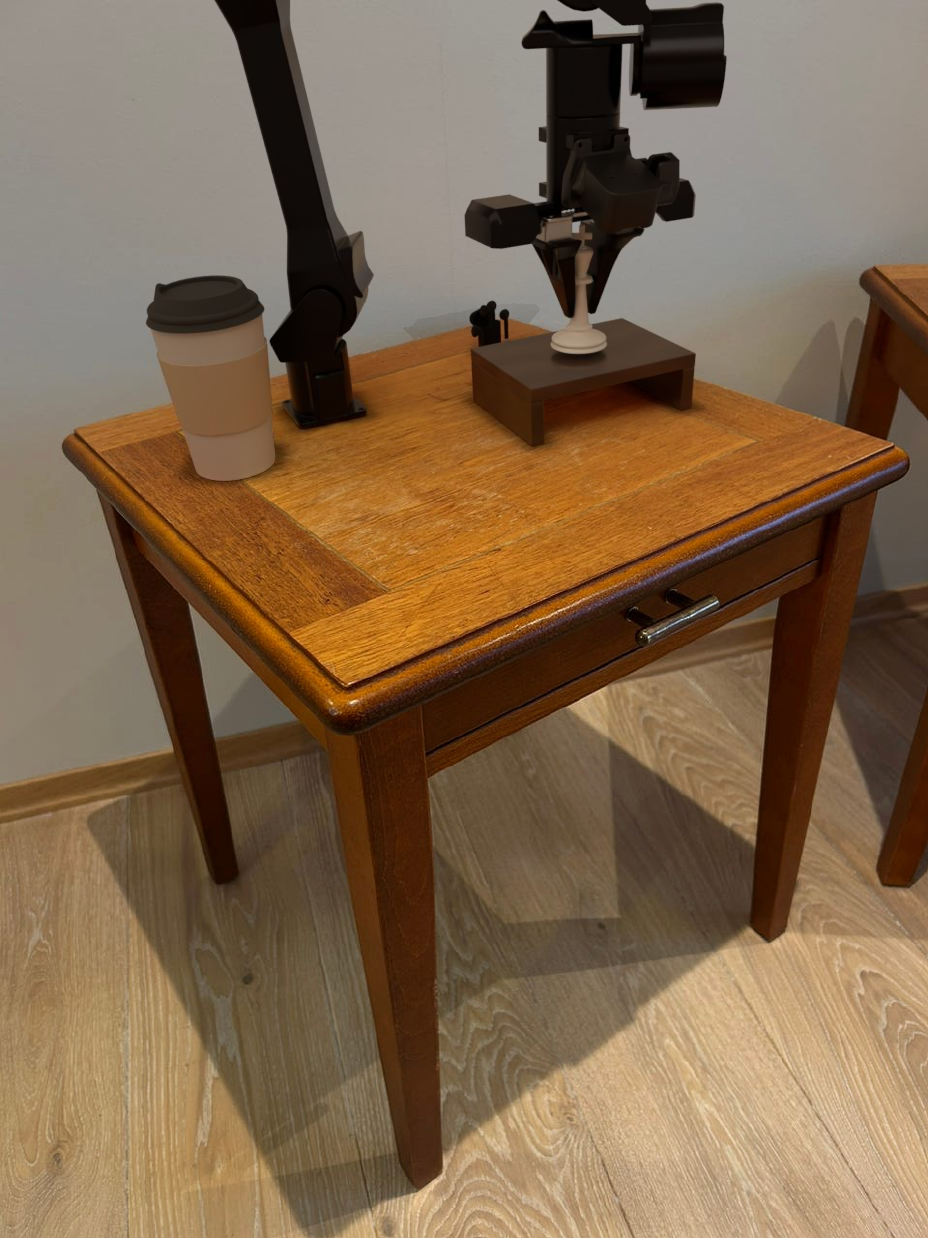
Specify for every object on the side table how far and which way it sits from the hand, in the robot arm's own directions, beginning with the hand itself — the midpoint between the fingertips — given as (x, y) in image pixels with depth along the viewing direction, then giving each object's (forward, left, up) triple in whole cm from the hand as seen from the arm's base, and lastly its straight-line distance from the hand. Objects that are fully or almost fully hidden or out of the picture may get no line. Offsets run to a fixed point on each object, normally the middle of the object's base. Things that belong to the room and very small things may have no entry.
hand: (579, 314), depth 84 cm
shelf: (0, 0, -8) cm, 8 cm away
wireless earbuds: (-18, -1, -8) cm, 20 cm away
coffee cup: (-4, -31, -8) cm, 32 cm away
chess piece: (0, 0, -3) cm, 3 cm away
